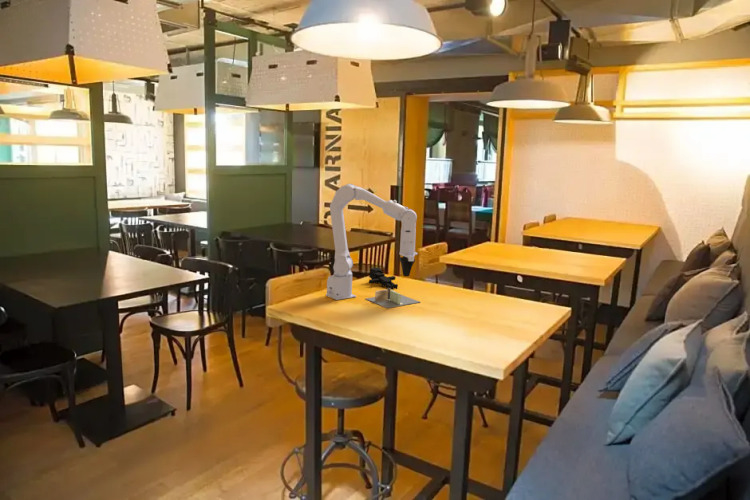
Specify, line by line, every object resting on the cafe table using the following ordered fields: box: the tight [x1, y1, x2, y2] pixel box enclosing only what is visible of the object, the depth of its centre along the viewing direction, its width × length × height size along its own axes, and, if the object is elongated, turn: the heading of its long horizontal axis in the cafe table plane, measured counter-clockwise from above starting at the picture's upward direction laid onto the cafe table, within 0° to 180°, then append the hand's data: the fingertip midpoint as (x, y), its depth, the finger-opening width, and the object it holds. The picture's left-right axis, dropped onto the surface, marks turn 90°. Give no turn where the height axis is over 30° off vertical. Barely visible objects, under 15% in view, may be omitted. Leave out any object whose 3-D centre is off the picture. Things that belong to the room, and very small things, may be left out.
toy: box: [368, 267, 399, 290], centre depth 234 cm, size 14×6×15 cm
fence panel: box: [389, 289, 402, 304], centre depth 208 cm, size 7×1×4 cm, turn 29°
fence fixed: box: [374, 288, 392, 301], centre depth 210 cm, size 7×1×5 cm, turn 126°
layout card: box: [365, 294, 421, 309], centre depth 211 cm, size 16×14×1 cm
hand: (406, 275), depth 210 cm, fingers closed
